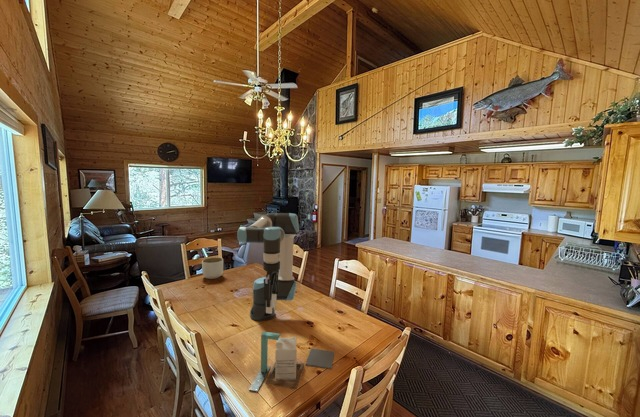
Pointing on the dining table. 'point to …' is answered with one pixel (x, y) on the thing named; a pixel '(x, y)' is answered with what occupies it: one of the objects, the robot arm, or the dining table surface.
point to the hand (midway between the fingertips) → (271, 309)
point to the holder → (282, 382)
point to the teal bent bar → (266, 347)
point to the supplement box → (286, 359)
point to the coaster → (320, 358)
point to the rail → (259, 380)
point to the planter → (212, 267)
